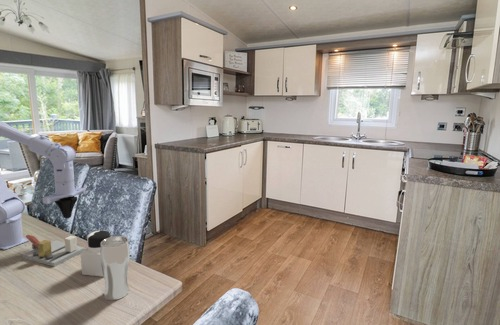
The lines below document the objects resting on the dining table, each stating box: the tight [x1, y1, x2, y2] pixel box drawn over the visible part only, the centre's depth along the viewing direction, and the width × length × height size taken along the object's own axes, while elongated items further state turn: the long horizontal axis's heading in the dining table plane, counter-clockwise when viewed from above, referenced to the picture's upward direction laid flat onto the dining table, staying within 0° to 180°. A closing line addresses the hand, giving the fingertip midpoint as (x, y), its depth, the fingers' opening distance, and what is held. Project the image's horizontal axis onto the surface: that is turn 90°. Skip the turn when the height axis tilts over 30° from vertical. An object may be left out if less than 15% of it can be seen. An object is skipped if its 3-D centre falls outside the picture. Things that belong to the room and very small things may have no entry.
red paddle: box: [25, 234, 40, 248], centre depth 90 cm, size 4×1×7 cm
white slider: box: [64, 235, 78, 252], centre depth 91 cm, size 2×2×4 cm
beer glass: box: [100, 235, 131, 301], centre depth 72 cm, size 7×7×15 cm
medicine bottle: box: [80, 230, 111, 278], centre depth 83 cm, size 7×7×12 cm
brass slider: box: [38, 239, 52, 257], centre depth 88 cm, size 2×2×4 cm
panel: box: [22, 239, 86, 267], centre depth 92 cm, size 15×11×3 cm
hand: (67, 217), depth 98 cm, fingers closed
